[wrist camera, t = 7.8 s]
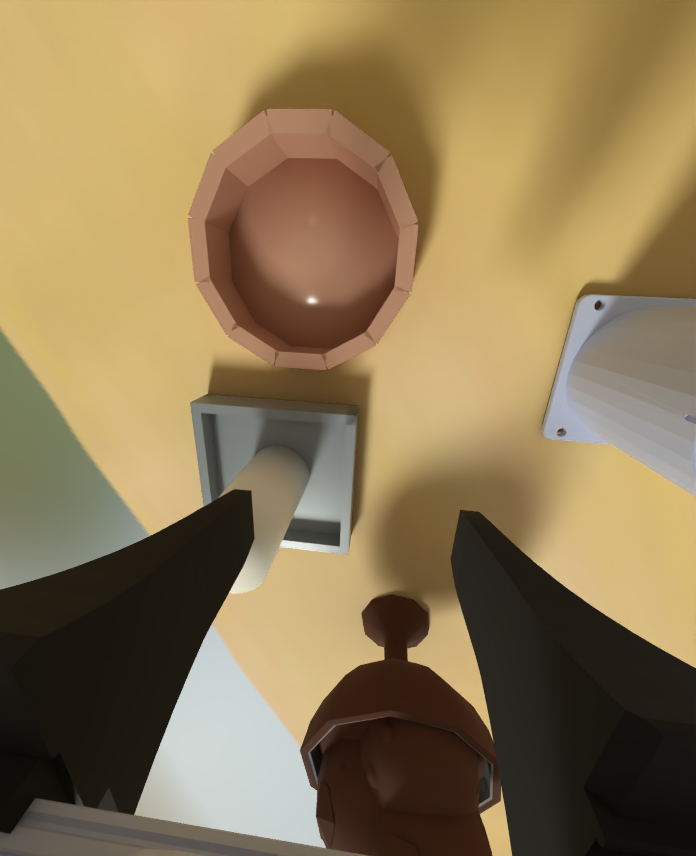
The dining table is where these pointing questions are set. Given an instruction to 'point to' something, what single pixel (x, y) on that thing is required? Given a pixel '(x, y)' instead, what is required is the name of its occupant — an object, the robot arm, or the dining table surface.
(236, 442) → the tray
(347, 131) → the terracotta bowl
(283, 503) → the peg
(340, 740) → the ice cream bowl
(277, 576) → the dining table surface
